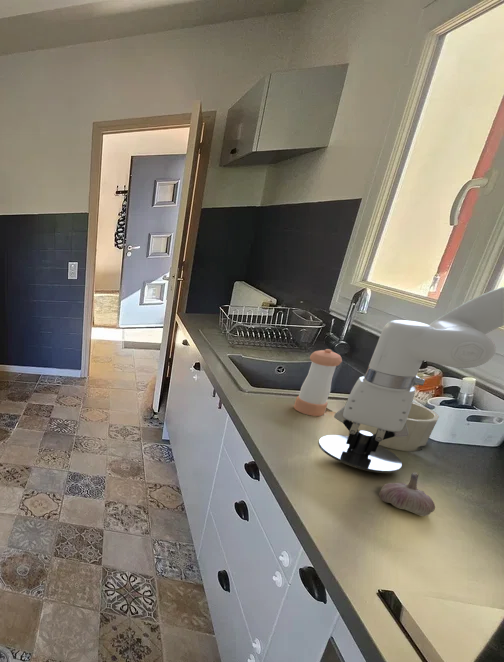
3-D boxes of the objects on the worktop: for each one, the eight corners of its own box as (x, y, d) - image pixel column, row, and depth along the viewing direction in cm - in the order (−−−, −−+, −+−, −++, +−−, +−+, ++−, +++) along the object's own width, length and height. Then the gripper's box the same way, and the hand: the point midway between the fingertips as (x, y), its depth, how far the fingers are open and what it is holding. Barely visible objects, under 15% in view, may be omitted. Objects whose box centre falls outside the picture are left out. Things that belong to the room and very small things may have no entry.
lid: (416, 468, 86) (428, 444, 83) (369, 480, 82) (380, 456, 80) (346, 434, 99) (354, 413, 96) (302, 444, 95) (310, 422, 93)
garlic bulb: (367, 496, 79) (382, 464, 76) (396, 491, 81) (411, 460, 77) (409, 523, 72) (427, 489, 69) (440, 517, 74) (458, 483, 71)
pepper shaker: (328, 411, 113) (349, 350, 106) (318, 418, 109) (340, 355, 102) (299, 402, 119) (318, 343, 111) (289, 409, 115) (308, 348, 107)
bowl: (437, 446, 96) (452, 416, 93) (400, 455, 92) (414, 424, 89) (376, 420, 108) (387, 393, 105) (340, 427, 104) (350, 400, 101)
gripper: (441, 383, 80) (406, 456, 87) (342, 364, 90) (318, 431, 97) (444, 394, 75) (407, 471, 82) (338, 373, 85) (314, 443, 93)
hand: (359, 449), depth 90 cm, fingers closed on lid, 2 cm apart
